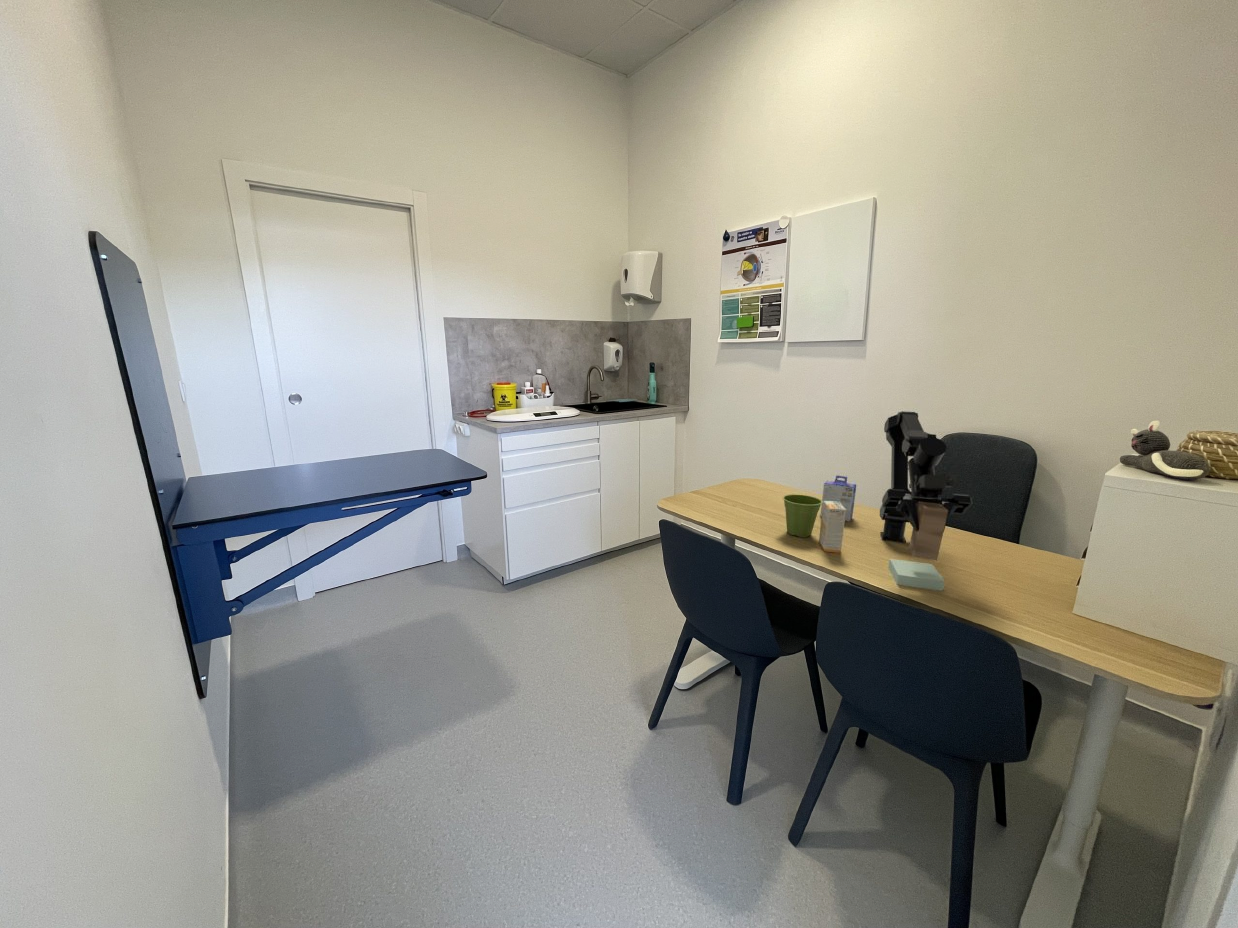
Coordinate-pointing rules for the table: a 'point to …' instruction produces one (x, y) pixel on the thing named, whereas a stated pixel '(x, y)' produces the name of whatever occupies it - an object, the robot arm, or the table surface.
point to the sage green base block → (916, 574)
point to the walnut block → (928, 530)
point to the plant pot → (801, 513)
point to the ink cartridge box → (840, 494)
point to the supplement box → (832, 526)
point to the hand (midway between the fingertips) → (929, 531)
